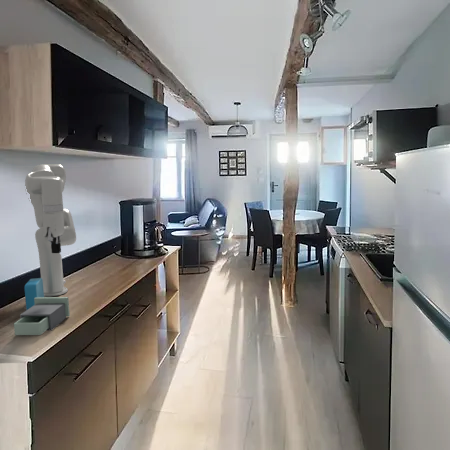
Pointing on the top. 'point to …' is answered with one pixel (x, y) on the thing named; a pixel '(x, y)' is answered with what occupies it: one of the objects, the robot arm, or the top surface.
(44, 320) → the tray
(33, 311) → the mailer sleeve
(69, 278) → the top surface
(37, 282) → the data package
